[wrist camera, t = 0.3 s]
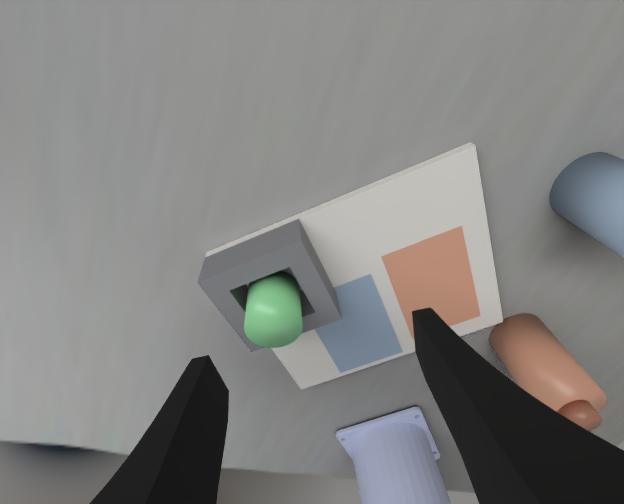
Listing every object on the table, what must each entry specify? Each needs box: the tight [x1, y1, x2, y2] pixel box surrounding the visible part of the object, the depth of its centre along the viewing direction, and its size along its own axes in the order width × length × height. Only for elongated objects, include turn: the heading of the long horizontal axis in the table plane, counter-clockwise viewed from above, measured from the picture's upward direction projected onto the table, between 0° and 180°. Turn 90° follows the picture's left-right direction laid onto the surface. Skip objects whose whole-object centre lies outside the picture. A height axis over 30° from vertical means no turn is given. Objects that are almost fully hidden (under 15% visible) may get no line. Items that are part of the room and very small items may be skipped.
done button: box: [244, 270, 303, 348], centre depth 20 cm, size 3×3×3 cm
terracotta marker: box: [489, 314, 607, 431], centre depth 25 cm, size 4×4×8 cm
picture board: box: [198, 142, 503, 390], centre depth 23 cm, size 14×16×3 cm
